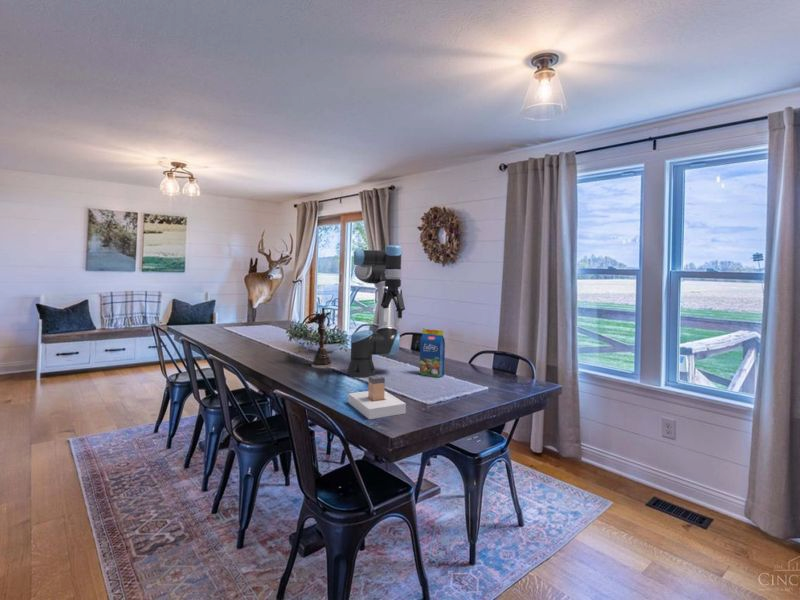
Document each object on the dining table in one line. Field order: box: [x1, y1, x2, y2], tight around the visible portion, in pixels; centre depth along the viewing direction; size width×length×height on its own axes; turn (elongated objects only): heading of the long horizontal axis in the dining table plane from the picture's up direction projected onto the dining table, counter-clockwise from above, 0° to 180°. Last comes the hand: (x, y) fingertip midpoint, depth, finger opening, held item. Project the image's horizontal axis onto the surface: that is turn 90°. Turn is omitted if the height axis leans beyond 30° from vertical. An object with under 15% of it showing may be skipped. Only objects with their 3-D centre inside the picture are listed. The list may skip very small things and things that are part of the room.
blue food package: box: [419, 328, 446, 378], centre depth 228 cm, size 6×12×25 cm, turn 61°
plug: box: [367, 374, 386, 402], centre depth 174 cm, size 5×5×13 cm
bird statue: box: [304, 307, 332, 369], centre depth 245 cm, size 17×13×35 cm
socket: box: [347, 390, 407, 420], centre depth 174 cm, size 22×16×4 cm
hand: (392, 323), depth 200 cm, fingers open, 13 cm apart
